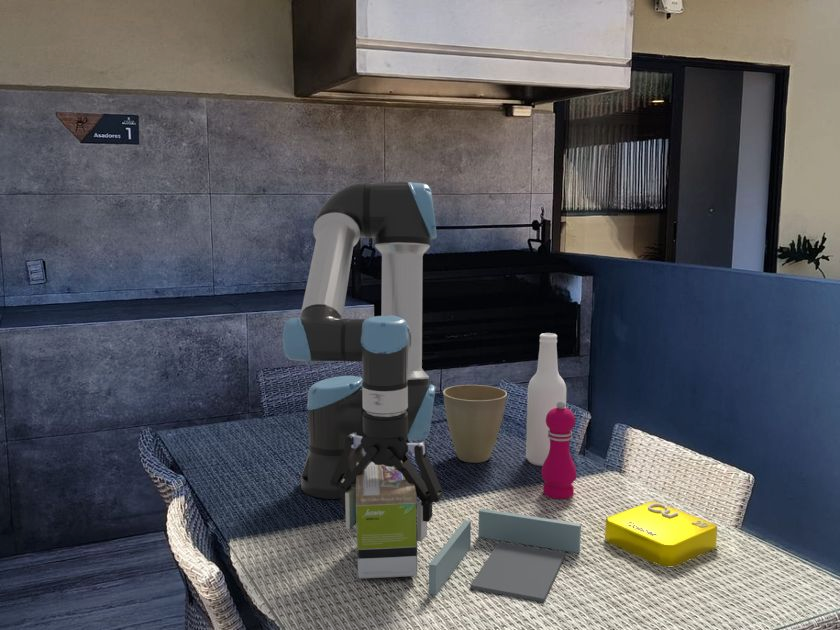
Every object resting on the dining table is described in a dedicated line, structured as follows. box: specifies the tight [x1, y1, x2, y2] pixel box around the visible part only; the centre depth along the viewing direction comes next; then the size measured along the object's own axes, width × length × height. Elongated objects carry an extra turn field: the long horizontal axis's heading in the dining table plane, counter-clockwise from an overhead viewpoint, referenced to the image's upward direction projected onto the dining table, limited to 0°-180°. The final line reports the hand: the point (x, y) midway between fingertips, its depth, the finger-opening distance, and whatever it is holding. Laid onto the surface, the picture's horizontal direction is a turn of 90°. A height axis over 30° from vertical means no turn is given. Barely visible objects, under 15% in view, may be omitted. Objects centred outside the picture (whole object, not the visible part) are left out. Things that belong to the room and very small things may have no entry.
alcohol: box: [525, 332, 567, 467], centre depth 188 cm, size 9×9×30 cm
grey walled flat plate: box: [428, 508, 582, 596], centre depth 136 cm, size 20×24×5 cm
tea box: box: [355, 460, 419, 579], centre depth 138 cm, size 15×10×15 cm
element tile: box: [604, 500, 718, 567], centre depth 147 cm, size 15×15×5 cm
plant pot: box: [442, 384, 508, 464], centre depth 191 cm, size 15×15×16 cm
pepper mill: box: [540, 401, 577, 500], centre depth 169 cm, size 7×7×20 cm
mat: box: [469, 541, 566, 603], centre depth 137 cm, size 12×17×1 cm
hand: (386, 531), depth 139 cm, fingers closed on tea box, 12 cm apart
